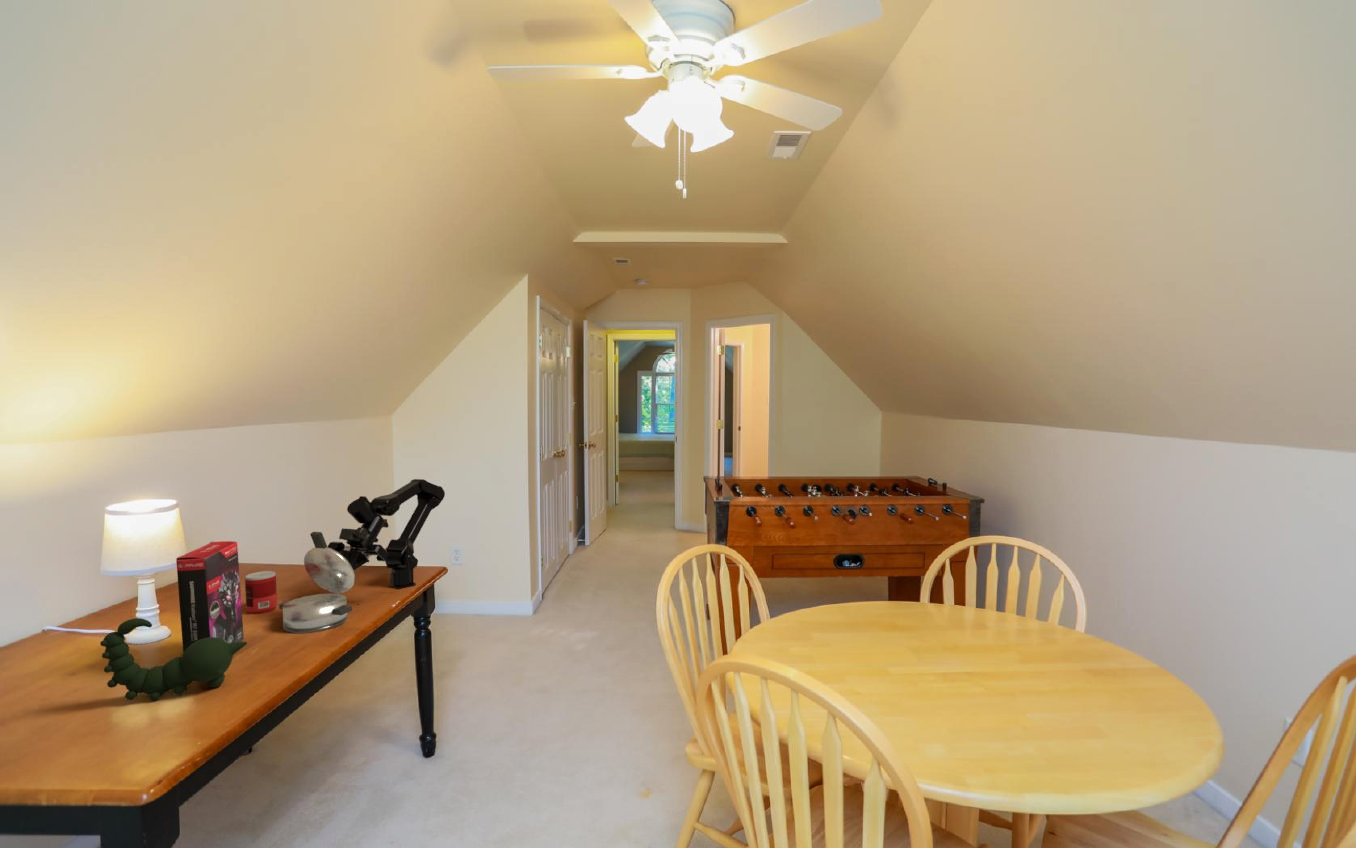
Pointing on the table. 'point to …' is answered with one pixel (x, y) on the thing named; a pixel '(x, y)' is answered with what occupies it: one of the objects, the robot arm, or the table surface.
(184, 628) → the graphics card box
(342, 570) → the cooker lid
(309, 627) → the cooker pot
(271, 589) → the canned food
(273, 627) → the table surface
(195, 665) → the toy figurine
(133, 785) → the table surface
